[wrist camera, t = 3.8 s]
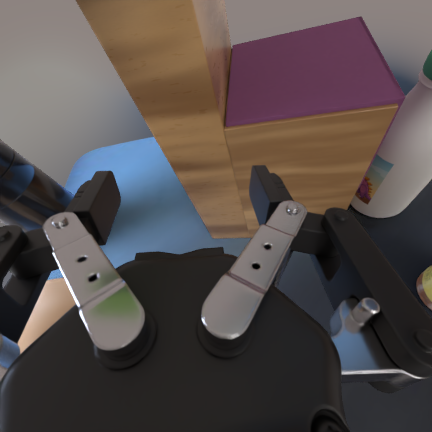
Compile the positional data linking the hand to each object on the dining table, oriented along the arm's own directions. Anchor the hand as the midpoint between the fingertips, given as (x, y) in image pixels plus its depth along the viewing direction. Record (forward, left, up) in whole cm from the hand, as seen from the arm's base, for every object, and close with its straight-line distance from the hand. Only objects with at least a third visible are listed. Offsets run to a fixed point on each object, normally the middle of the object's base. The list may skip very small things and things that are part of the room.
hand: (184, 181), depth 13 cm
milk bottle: (+18, +16, -23) cm, 33 cm away
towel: (+5, +14, -12) cm, 19 cm away
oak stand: (+2, +14, -23) cm, 27 cm away
